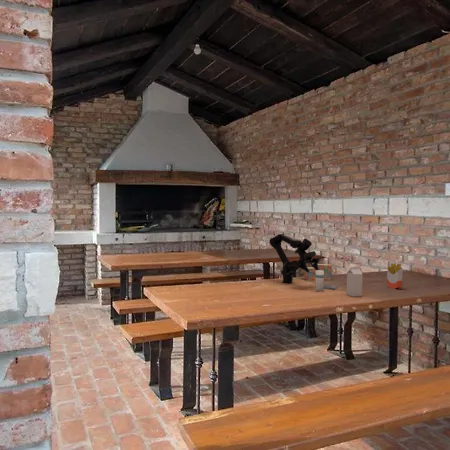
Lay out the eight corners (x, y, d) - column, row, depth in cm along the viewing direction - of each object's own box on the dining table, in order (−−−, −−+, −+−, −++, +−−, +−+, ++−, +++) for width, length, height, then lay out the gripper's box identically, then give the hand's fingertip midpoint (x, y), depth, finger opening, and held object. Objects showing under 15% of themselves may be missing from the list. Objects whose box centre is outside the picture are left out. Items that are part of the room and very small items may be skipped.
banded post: (314, 291, 294) (314, 271, 293) (316, 289, 299) (316, 269, 298) (322, 291, 291) (323, 271, 291) (324, 290, 297) (324, 270, 296)
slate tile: (316, 288, 303) (316, 286, 303) (319, 285, 313) (319, 283, 313) (335, 289, 298) (335, 288, 298) (337, 287, 308) (337, 285, 308)
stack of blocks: (304, 279, 335) (304, 264, 335) (303, 278, 342) (303, 263, 341) (331, 280, 333) (331, 265, 332) (330, 279, 339) (330, 263, 339)
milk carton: (361, 296, 279) (362, 267, 278) (352, 296, 277) (353, 268, 276) (355, 293, 286) (356, 266, 285) (346, 294, 284) (347, 266, 283)
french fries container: (396, 289, 301) (397, 264, 300) (386, 286, 311) (387, 262, 310) (401, 289, 302) (402, 264, 301) (391, 286, 313) (392, 262, 312)
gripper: (299, 248, 298) (309, 265, 289) (318, 246, 308) (329, 263, 299) (291, 257, 305) (301, 275, 296) (310, 256, 315) (320, 273, 306)
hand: (313, 271), depth 299 cm, fingers open, 9 cm apart
